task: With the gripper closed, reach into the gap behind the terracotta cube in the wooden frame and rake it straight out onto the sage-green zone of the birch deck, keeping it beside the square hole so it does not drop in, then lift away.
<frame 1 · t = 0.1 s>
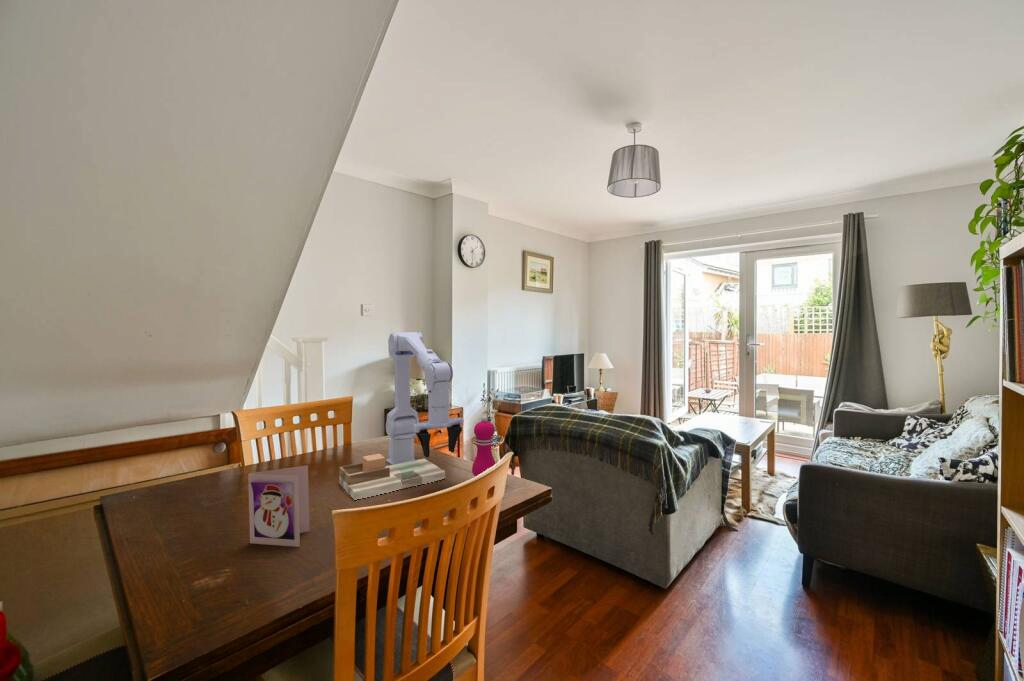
hand: (439, 453, 120), 10 cm above the table, tool pointing down, fingers open, 7 cm apart
cube: (374, 474, 126), point 2 cm above the table, touching deck
pepper mill: (484, 485, 125), on the table
wooden frame: (364, 471, 124), on the deck, point 4 cm above the table
greeting card: (283, 539, 93), on the table
deck: (392, 481, 127), on the table
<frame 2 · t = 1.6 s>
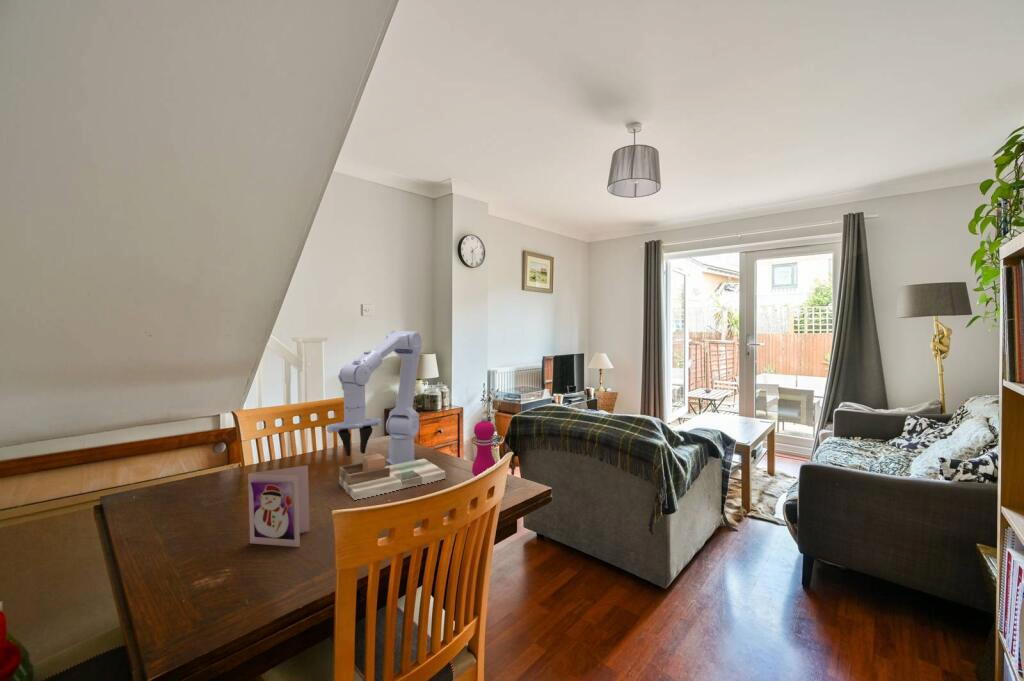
hand: (355, 453, 123), 9 cm above the table, tool pointing down, fingers open, 3 cm apart
nothing on the table moved.
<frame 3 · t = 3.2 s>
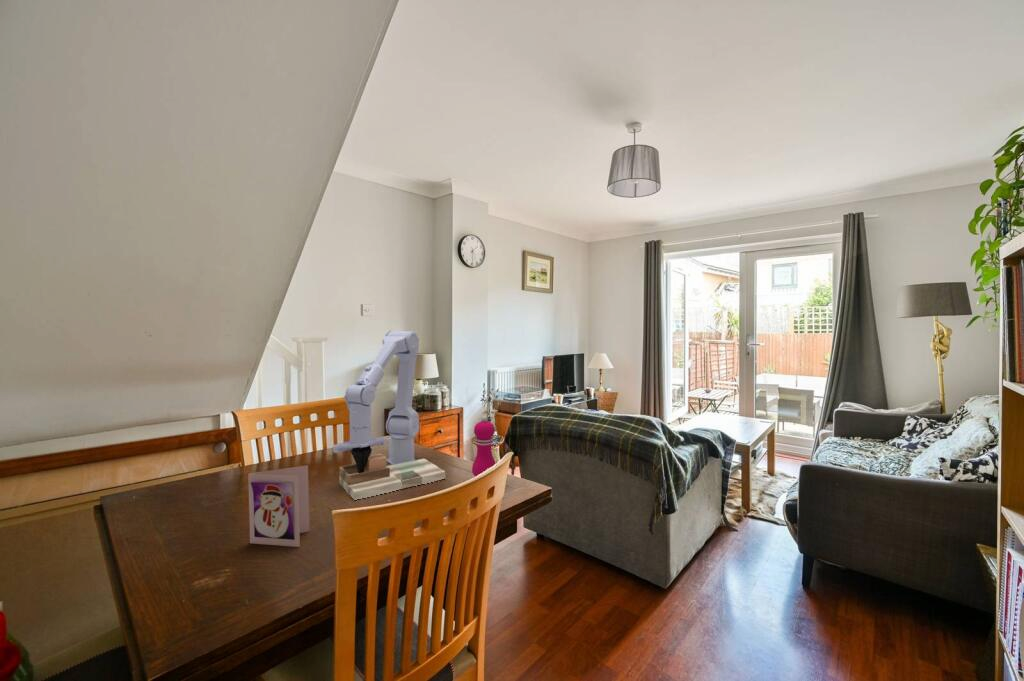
hand: (361, 473, 124), 4 cm above the table, tool pointing down, fingers closed
cube: (375, 473, 126), point 3 cm above the table, touching gripper
everything else where it was.
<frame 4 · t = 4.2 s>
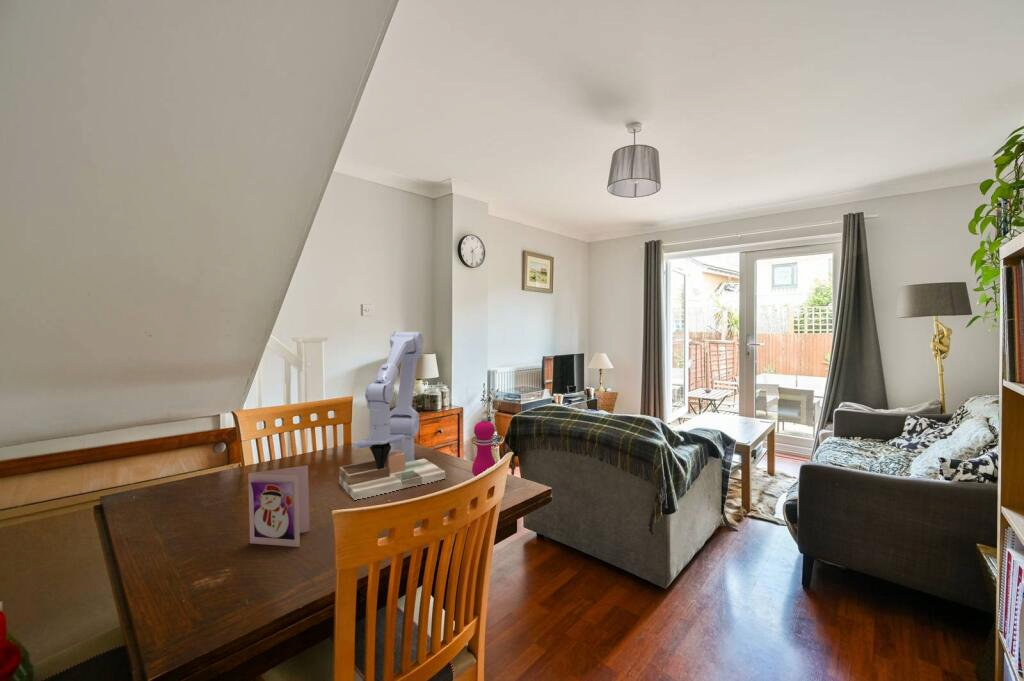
hand: (380, 469, 127), 4 cm above the table, tool pointing down, fingers closed
cube: (394, 469, 130), point 3 cm above the table, touching gripper
everything else where it was.
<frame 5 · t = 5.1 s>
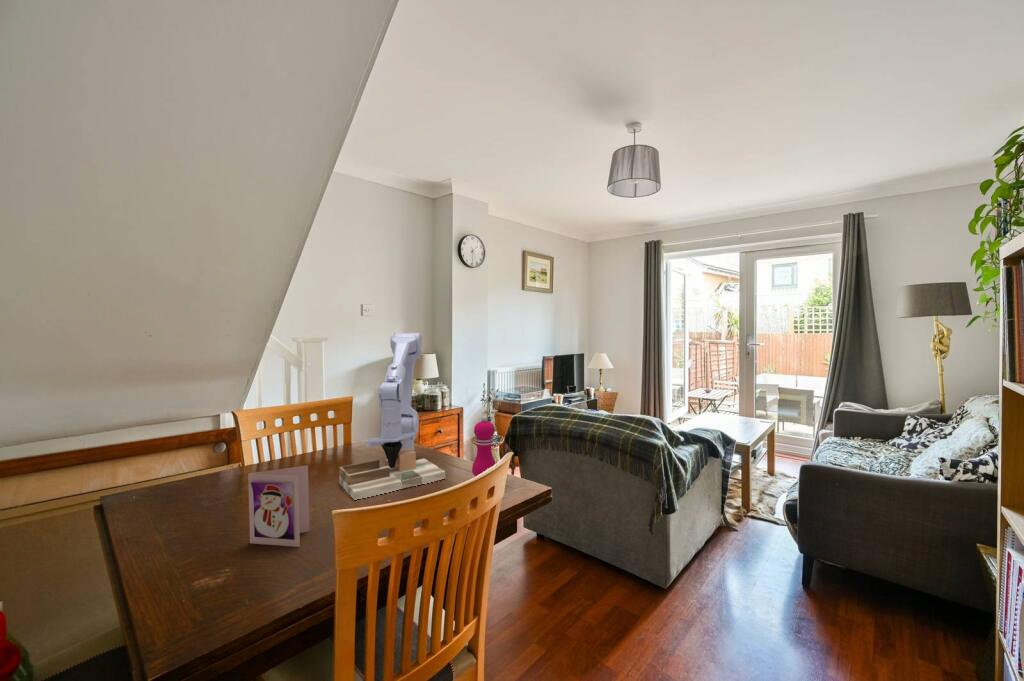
hand: (391, 466, 129), 4 cm above the table, tool pointing down, fingers closed
cube: (404, 467, 131), point 3 cm above the table, touching gripper
everything else where it was.
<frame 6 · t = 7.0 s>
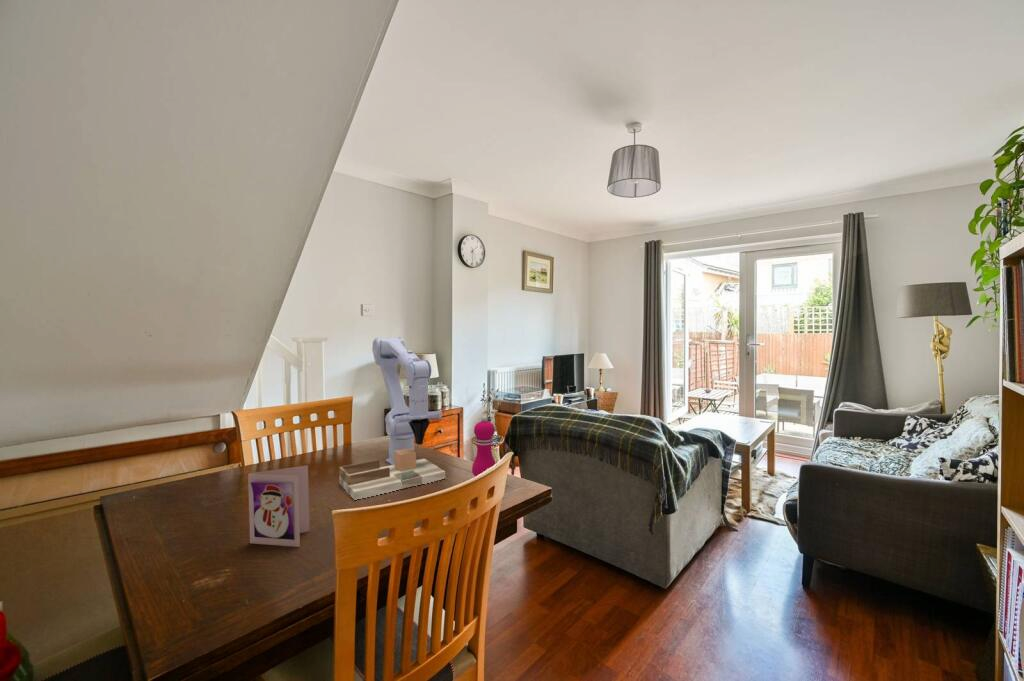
hand: (419, 443, 133), 9 cm above the table, tool pointing down, fingers closed
cube: (405, 467, 132), point 2 cm above the table, touching deck
everything else where it was.
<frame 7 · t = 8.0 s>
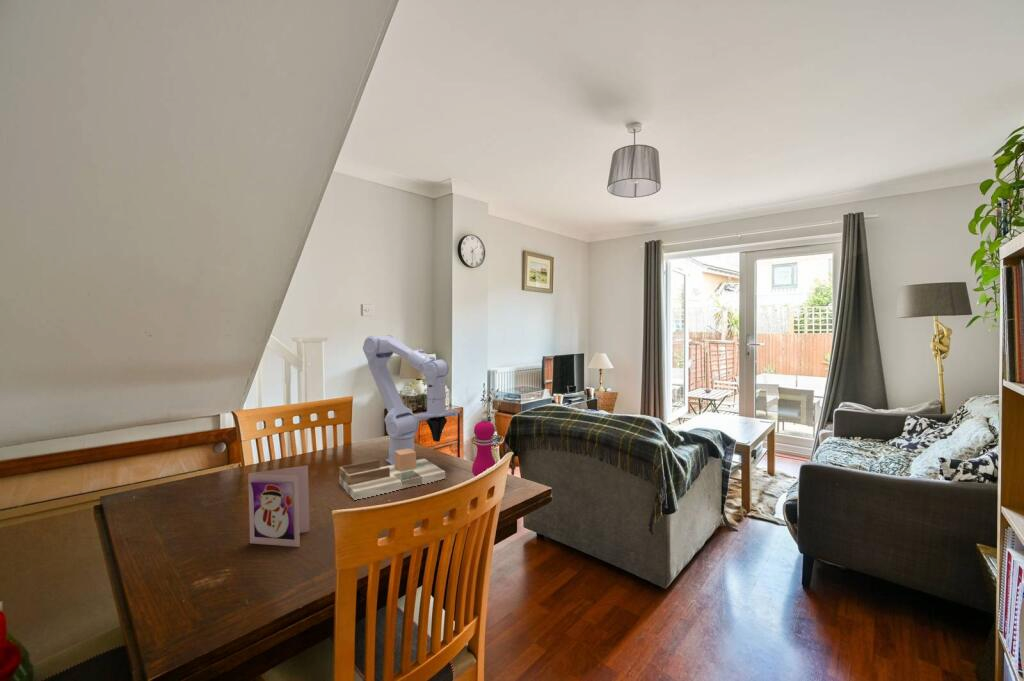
hand: (436, 440, 136), 9 cm above the table, tool pointing down, fingers closed
nothing on the table moved.
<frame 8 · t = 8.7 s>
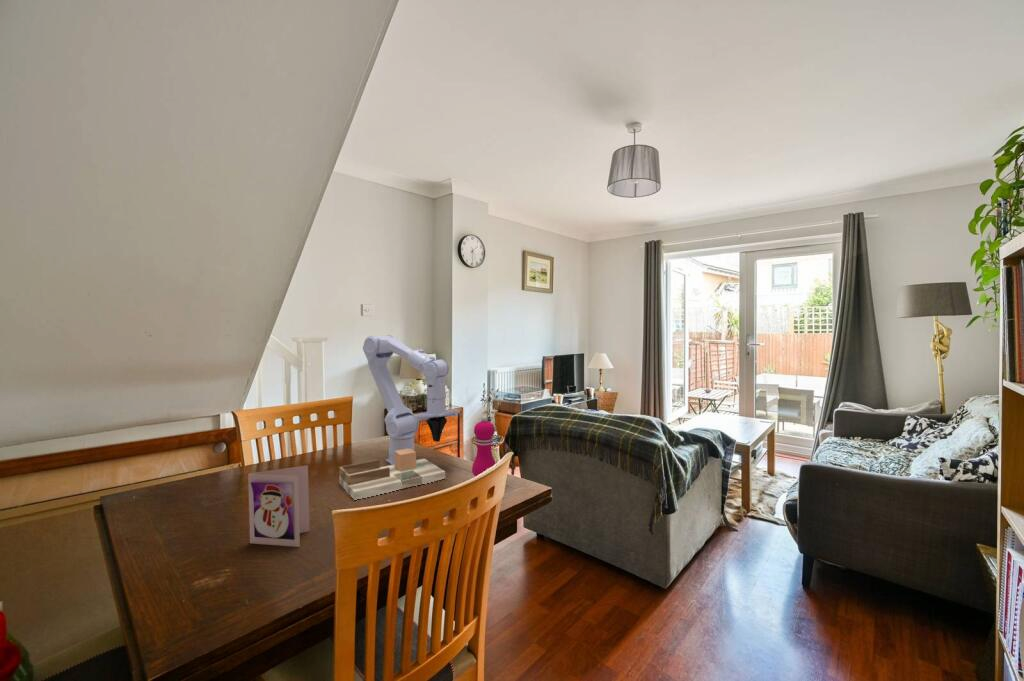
hand: (436, 440, 136), 9 cm above the table, tool pointing down, fingers closed
nothing on the table moved.
at the end: cube inside the target area on the deck (1.5 cm from its centre), point 2.5 cm above the deck's base; cube tilted 0° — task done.
